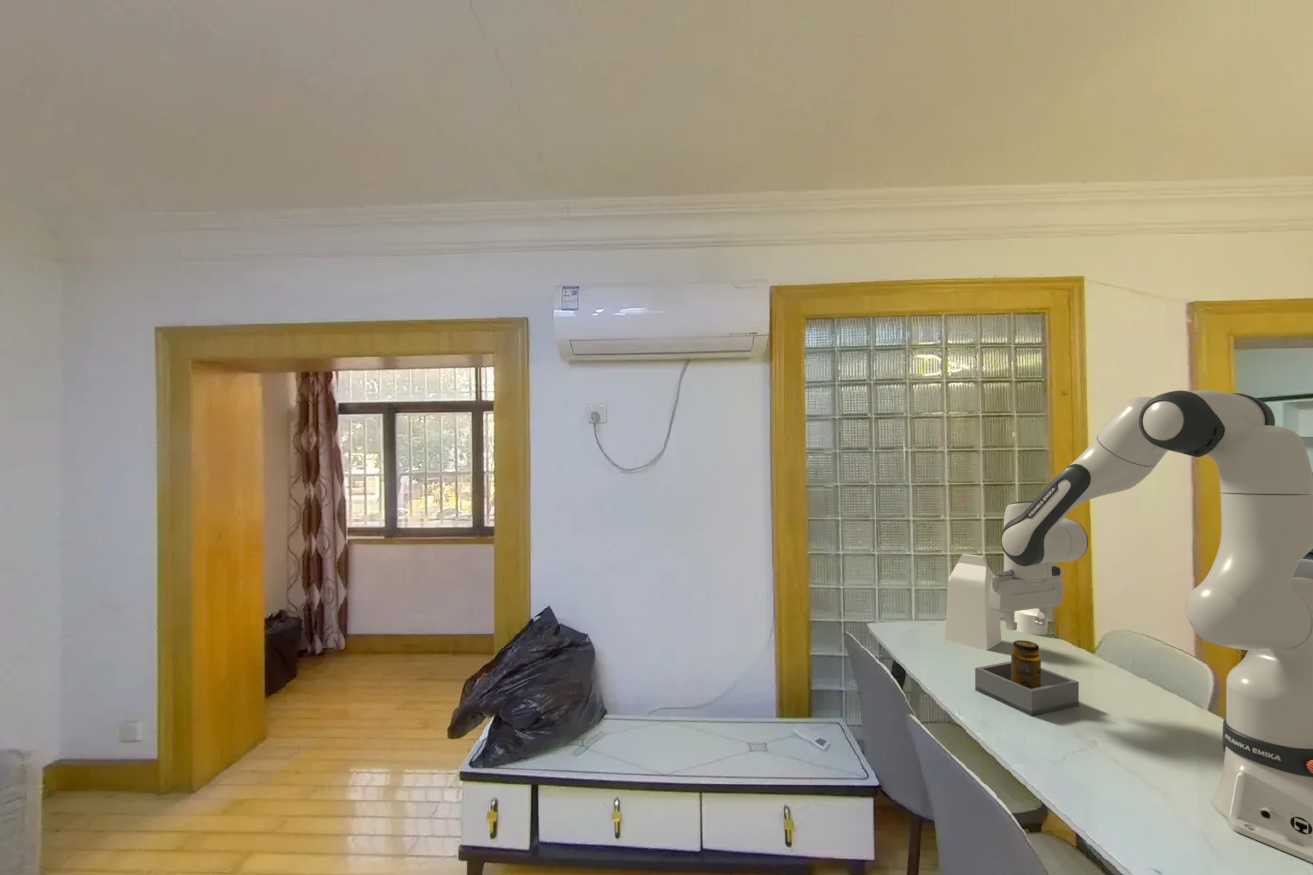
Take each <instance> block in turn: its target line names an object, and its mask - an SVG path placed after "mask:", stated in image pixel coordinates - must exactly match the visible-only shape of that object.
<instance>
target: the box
mask: <svg viewBox="0 0 1313 875" xmlns="http://www.w3.org/2000/svg"><path fill="white" fill-rule="evenodd" d="M974 669H975V670H974V672H975V674H974V675H975V676H974V679H975V681H974V684H975V685H974V687H975V690H974V691H976V692H978V693H980V694H983V695H985V696H987V695H988V696H987V697H989V696H990V697H989V698H991V697H992V698H991V699H993V698H994V700H995V699H996V700H995V701H998V702H1000V703H1001V704H1005V705H1007V706H1009V707H1011V708H1013V709H1016V710H1018V711H1019V710H1020V712H1022V713H1024V714H1025V715H1027V716H1031V717H1033V716H1038V715H1042V714H1043V715H1044V714H1046V713H1052V712H1057V711H1060V710H1064V709H1065V710H1066V709H1069V708H1074V707H1078V706H1079V704H1080V702H1079V700H1080V699H1079V698H1080V695H1079V692H1080V690H1079V686H1080V683H1079V681H1078V680H1075V679H1073V678H1070V677H1068V676H1064V675H1062V674H1059V673H1056V672H1054V671H1051V670H1049V669H1046V668H1043V667H1041V687H1038V688H1034V689H1029V688H1027V687H1025V686H1022V685H1020V684H1017V683H1015V682H1013V681H1011V661H1006V662H999V663H993V664H989V665H983V666H978V667H975V668H974Z"/></svg>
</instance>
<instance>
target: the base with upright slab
mask: <svg viewBox="0 0 1313 875" xmlns="http://www.w3.org/2000/svg"><path fill="white" fill-rule="evenodd" d="M1038 612H1039V609H1038V608H1036V609H1028V610H1021V611H1014V622H1017V630H1016V632H1019V633H1021V634H1026V635H1031V636H1033V635H1034V636H1045V635H1047V634H1048V629H1049V628H1048V626H1049V624H1048V623H1049V622H1048V621H1049V620H1048V618H1049V617H1048V616H1047V618H1046V625H1044V626H1039V625H1036V624H1035V617H1037V615H1038Z"/></svg>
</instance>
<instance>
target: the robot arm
mask: <svg viewBox="0 0 1313 875" xmlns="http://www.w3.org/2000/svg"><path fill="white" fill-rule="evenodd" d="M1275 419H1276V418H1275V415H1274V412H1273V410H1272V409H1271V407H1270V406H1269V404H1267V403H1265V402H1264V401H1263V400H1261V399H1259V398H1258V397H1255V396H1251V395H1249V394H1244V393H1238V392H1237V393H1236V392H1233V393H1230V392H1229V393H1228V392H1223V391H1217V390H1213V389H1212V390H1211V389H1210V390H1209V389H1208V390H1206V389H1201V390H1199V389H1197V390H1173V391H1167V392H1165V393H1161V394H1159V395H1156V396H1154V397H1152V396H1151V397H1150V396H1140V397H1136V398H1133V399H1131V400H1129V401H1128V402H1126V404H1124V405H1123V406H1122V407H1121V408H1119V410H1118V411H1117V412H1115V414H1114V415H1113V416H1112V417H1111V418H1110V420H1108V421H1107V422H1106V424H1105V425H1103V427H1102V429H1100V431H1099V432H1098V434H1097V435H1096V436H1095V438H1094V439H1093V441H1092V442H1091V443H1090V444H1089V445H1088V446H1087V448H1086V449H1085V450H1084V451H1083V452H1082V453H1081V454H1080V455H1079V456H1078V457H1077V458H1076V459H1075V460H1074V461H1073V462H1071V464H1069V465H1067V466H1066V467H1065V468H1064V469H1063V470H1062V471H1060V472H1059V473H1058V474H1057V475H1056V476H1055V477H1054V478H1053V479H1052V480H1051V481H1050V482H1049V483H1048V484H1047V486H1046V487H1045V488H1044V489H1043V490H1042V491H1041V492H1040V493H1039V494H1038V496H1037V497H1036V498H1035V499H1034V500H1025V501H1023V500H1022V501H1021V500H1020V501H1014V502H1011V503H1009V504H1008V505H1007V506H1006V508H1005V512H1004V515H1003V516H1004V517H1003V529H1002V531H1001V534H1000V545H1001V548H1002V551H1003V565H1004V566H1003V571H996V572H995V574H994V577H992V582H991V585H990V591H989V607H990V608H991V610H994V611H997V612H1000V613H1001V615H1002V617H1003V619H1004V621H1005V629H1007V630H1008V631H1017V622H1015V619H1014V618H1013V617H1015V611H1021V610H1028V609H1036V608H1038V609H1039V612H1038V615H1037V617H1035V624H1036V625H1039V626H1044V625H1046V618H1047V616H1048V615H1049V614H1050V611H1051V610H1050V609H1051V608H1050V607H1056V606H1061V604H1062V602H1063V600H1064V599H1063V598H1064V587H1063V579H1062V578H1061V576H1063V573H1064V571H1063V570H1064V569H1063V567H1061V565H1060V566H1059V565H1056V564H1055V563H1060V562H1071V561H1075V560H1080V559H1081V558H1082V557H1083V556H1084V555H1086V553H1087V551H1088V547H1089V537H1088V534H1087V531H1086V530H1085V527H1083V525H1081V523H1079V522H1078V521H1076V520H1074V519H1069V518H1066V516H1068V514H1069V513H1070V512H1071V511H1072V510H1073V509H1074V508H1076V507H1077V506H1079V505H1080V504H1083V503H1084V502H1087V501H1090V500H1092V499H1096V498H1099V497H1102V496H1107V495H1111V494H1114V493H1119V492H1123V491H1127V490H1129V489H1132V488H1133V487H1135V486H1136V485H1138V484H1139V483H1140V482H1142V481H1143V480H1145V478H1146V477H1147V476H1149V475H1150V474H1151V473H1152V471H1154V468H1155V467H1156V466H1157V465H1158V464H1159V463H1160V461H1161V460H1162V458H1163V457H1164V456H1165V455H1166V453H1168V451H1169V452H1170V451H1171V452H1174V453H1180V454H1182V455H1183V454H1184V455H1185V456H1190V457H1194V458H1201V457H1203V456H1207V457H1209V458H1211V459H1212V460H1213V462H1214V463H1215V464H1216V466H1217V468H1218V473H1219V474H1218V475H1219V492H1220V493H1219V494H1220V495H1219V496H1220V522H1221V523H1220V528H1221V529H1220V531H1221V532H1220V540H1219V546H1218V550H1217V552H1216V555H1215V558H1214V561H1213V563H1212V566H1211V567H1210V569H1209V572H1208V573H1207V575H1206V576H1205V578H1204V579H1203V580H1202V582H1200V583H1199V585H1197V586H1196V587H1194V589H1192V590H1191V591H1190V592H1189V594H1188V595H1187V597H1186V601H1185V614H1186V619H1187V621H1188V622H1189V625H1190V626H1191V628H1192V630H1193V631H1195V633H1196V635H1198V636H1199V637H1200V638H1201V639H1203V640H1204V641H1207V642H1208V643H1210V644H1213V645H1215V646H1221V647H1225V648H1229V649H1235V650H1241V651H1242V650H1243V651H1246V654H1245V655H1244V657H1243V658H1242V660H1241V661H1240V662H1239V663H1238V664H1236V665H1235V666H1234V667H1233V668H1231V670H1230V671H1229V673H1228V674H1227V676H1226V685H1225V686H1226V688H1225V689H1226V690H1225V691H1226V692H1225V693H1226V694H1225V695H1226V697H1225V698H1226V701H1225V702H1226V703H1225V704H1226V706H1225V707H1226V708H1225V709H1226V710H1225V711H1226V713H1225V714H1226V715H1225V716H1226V717H1225V718H1224V720H1223V721H1222V732H1221V733H1222V735H1221V736H1222V737H1221V738H1222V749H1223V752H1224V759H1223V760H1224V761H1223V766H1222V772H1221V776H1220V781H1219V784H1218V787H1217V790H1216V792H1215V795H1214V797H1213V799H1212V803H1213V805H1214V807H1215V808H1216V809H1217V810H1218V811H1219V812H1220V813H1221V814H1222V815H1223V816H1224V817H1225V818H1226V819H1227V821H1228V824H1229V826H1230V828H1231V829H1232V830H1234V831H1235V832H1236V833H1239V834H1242V835H1244V836H1247V837H1248V838H1251V839H1254V840H1256V841H1259V842H1261V843H1263V844H1266V845H1268V846H1271V847H1273V848H1276V849H1278V850H1280V851H1283V852H1285V853H1288V854H1291V855H1292V856H1296V857H1298V858H1300V859H1302V860H1304V861H1307V862H1309V863H1312V864H1313V578H1309V577H1308V578H1307V577H1303V576H1301V577H1299V576H1296V577H1294V576H1295V574H1296V570H1297V569H1298V566H1299V565H1300V563H1301V561H1302V560H1303V559H1304V557H1305V556H1306V555H1307V554H1309V553H1310V552H1312V550H1313V471H1312V470H1313V469H1312V467H1311V466H1312V465H1311V461H1310V457H1309V455H1308V451H1307V449H1306V448H1307V447H1306V446H1305V443H1304V440H1303V439H1302V438H1301V436H1300V435H1299V434H1298V433H1297V432H1295V431H1294V430H1291V429H1288V428H1286V427H1283V426H1279V425H1278V426H1277V425H1276V420H1275ZM1053 563H1054V564H1053Z"/></svg>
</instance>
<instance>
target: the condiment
mask: <svg viewBox="0 0 1313 875" xmlns="http://www.w3.org/2000/svg"><path fill="white" fill-rule="evenodd" d="M1012 645H1013V648H1012V652H1011V656H1010V660H1011V681H1013V682H1015V683H1017V684H1020V685H1022V686H1025V687H1027V688H1029V689H1034V688H1038V687H1041V668H1042V665H1041V663H1042V660H1041V656H1040V650H1039V649H1040V648H1039V647H1040V646H1039V644H1037V643H1035V642H1034V641H1031V640H1030V641H1029V640H1022V639H1020V640H1014V641H1013V643H1012Z"/></svg>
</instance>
